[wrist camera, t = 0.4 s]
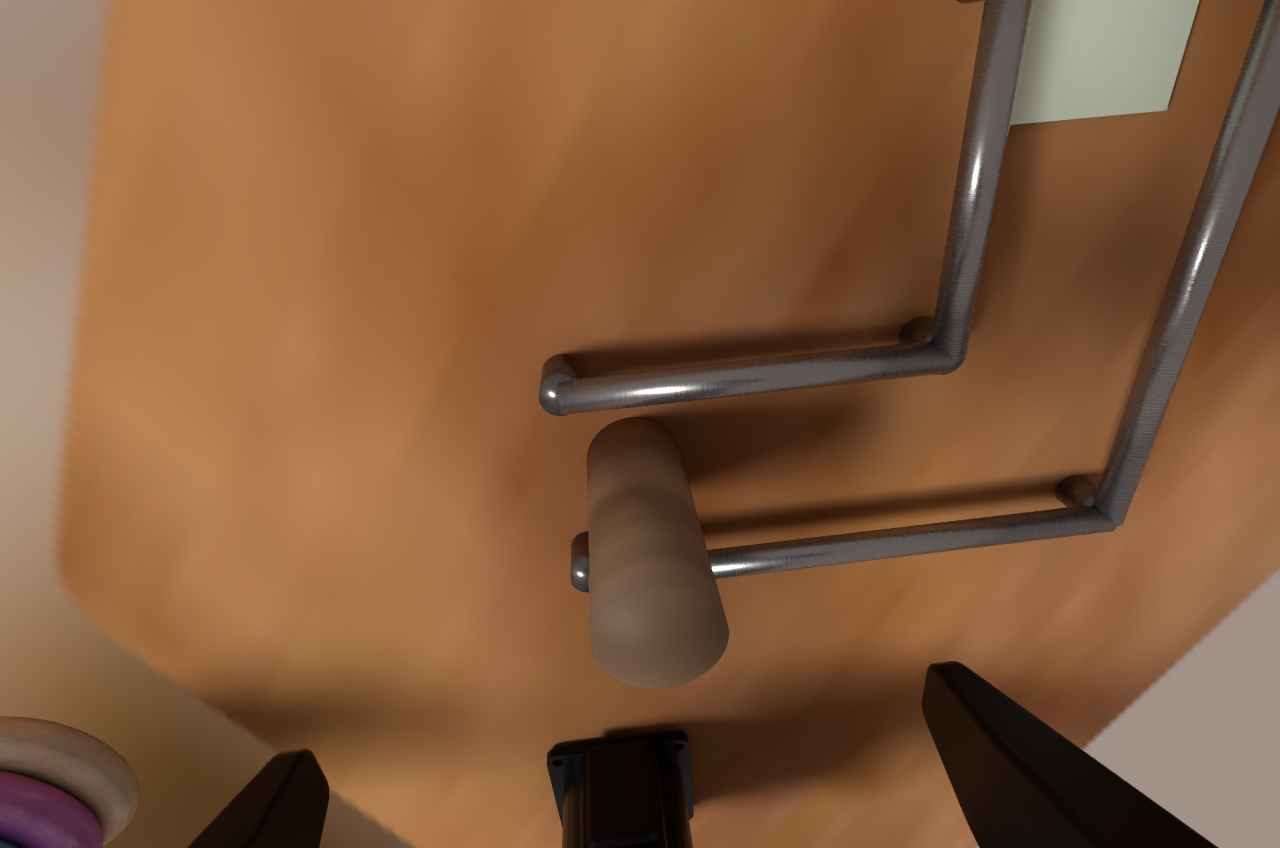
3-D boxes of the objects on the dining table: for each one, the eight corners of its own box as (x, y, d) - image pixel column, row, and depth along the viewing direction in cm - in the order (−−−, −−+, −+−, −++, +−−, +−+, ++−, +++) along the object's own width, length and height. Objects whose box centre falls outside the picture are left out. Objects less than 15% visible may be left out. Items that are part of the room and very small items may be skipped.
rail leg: (1082, 499, 24) (1128, 537, 22) (573, 559, 23) (572, 604, 21) (1150, 293, 20) (1214, 315, 18) (539, 357, 19) (534, 388, 17)
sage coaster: (1157, 110, 17) (1166, 110, 17) (983, 126, 17) (990, 126, 17) (1225, -123, 15) (1237, -127, 15) (1023, -107, 15) (1031, -111, 14)
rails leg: (1086, 486, 24) (1133, 524, 22) (875, 511, 23) (904, 551, 21) (1273, -81, 15) (1378, -106, 13) (951, -55, 15) (1009, -77, 13)
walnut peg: (681, 491, 22) (729, 679, 15) (592, 501, 22) (599, 696, 15) (677, 413, 21) (728, 581, 14) (581, 423, 20) (582, 598, 13)
